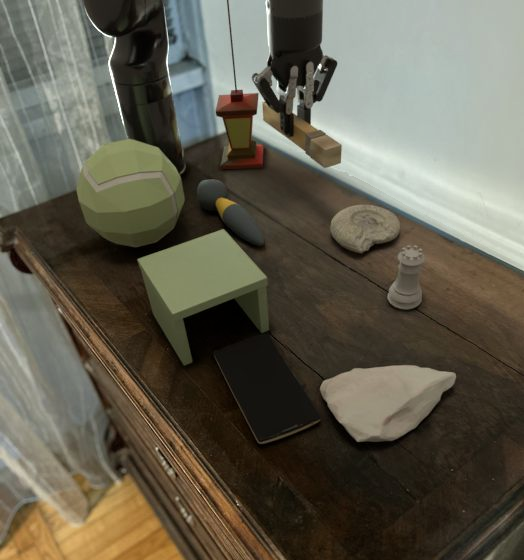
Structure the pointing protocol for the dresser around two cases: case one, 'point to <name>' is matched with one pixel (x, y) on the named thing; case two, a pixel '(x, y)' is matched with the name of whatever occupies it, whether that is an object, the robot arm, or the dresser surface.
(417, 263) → the rook chess piece
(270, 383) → the smartphone
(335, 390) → the stone
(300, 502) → the dresser surface
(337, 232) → the fossil
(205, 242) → the shelf
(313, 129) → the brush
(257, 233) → the paintbrush
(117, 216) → the decorative sphere
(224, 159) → the light fixture
